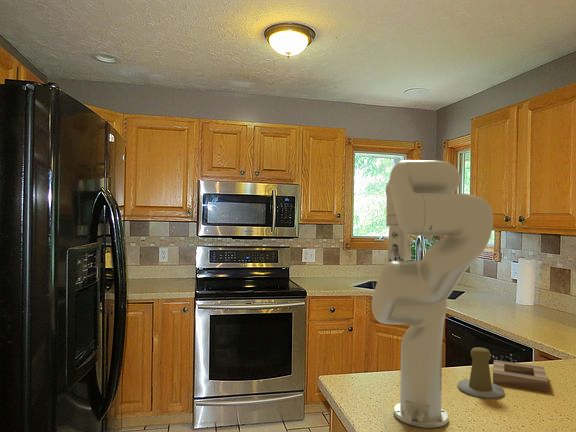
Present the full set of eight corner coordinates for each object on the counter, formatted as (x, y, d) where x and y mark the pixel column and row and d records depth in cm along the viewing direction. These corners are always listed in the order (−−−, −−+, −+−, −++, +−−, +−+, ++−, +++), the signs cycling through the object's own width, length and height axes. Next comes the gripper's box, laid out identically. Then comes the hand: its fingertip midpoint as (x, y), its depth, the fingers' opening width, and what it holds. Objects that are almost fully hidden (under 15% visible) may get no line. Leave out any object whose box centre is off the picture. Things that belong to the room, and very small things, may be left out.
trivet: (504, 401, 111) (504, 398, 111) (455, 393, 117) (455, 390, 117) (504, 387, 122) (504, 384, 122) (459, 379, 128) (459, 376, 128)
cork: (471, 390, 117) (471, 350, 117) (466, 382, 123) (467, 344, 123) (494, 392, 116) (494, 352, 116) (489, 384, 121) (489, 346, 122)
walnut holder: (547, 392, 119) (547, 381, 119) (492, 382, 125) (492, 372, 125) (543, 376, 131) (543, 367, 131) (493, 369, 138) (493, 359, 138)
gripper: (406, 221, 116) (405, 283, 116) (417, 222, 131) (417, 277, 131) (379, 221, 119) (378, 281, 119) (393, 222, 135) (392, 275, 134)
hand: (398, 279), depth 125 cm, fingers open, 9 cm apart
